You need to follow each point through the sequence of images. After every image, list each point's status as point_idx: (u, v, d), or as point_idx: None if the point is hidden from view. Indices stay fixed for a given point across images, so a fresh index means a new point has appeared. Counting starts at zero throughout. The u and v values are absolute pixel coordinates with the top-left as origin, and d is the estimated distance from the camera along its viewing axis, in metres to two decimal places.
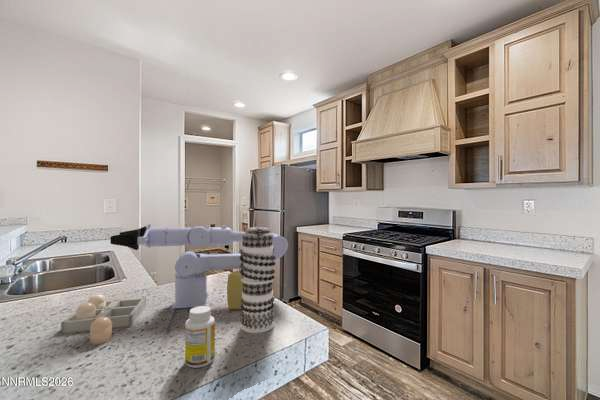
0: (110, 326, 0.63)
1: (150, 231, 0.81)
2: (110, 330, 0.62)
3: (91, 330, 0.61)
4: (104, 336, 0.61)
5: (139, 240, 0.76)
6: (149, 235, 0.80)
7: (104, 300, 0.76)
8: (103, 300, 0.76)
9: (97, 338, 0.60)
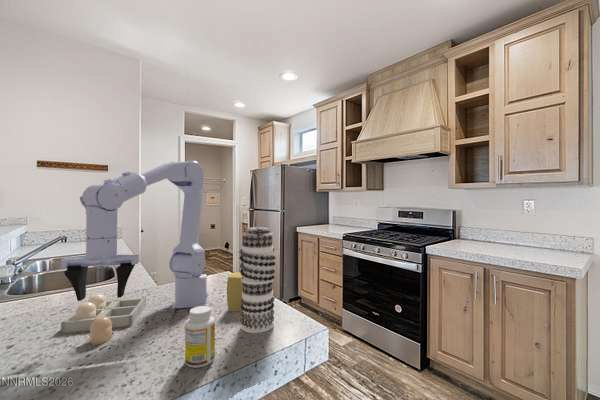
0: (110, 326, 0.63)
1: (109, 256, 0.61)
2: (110, 330, 0.62)
3: (91, 330, 0.61)
4: (104, 336, 0.61)
5: (137, 261, 0.64)
6: (114, 256, 0.62)
7: (104, 300, 0.76)
8: (103, 300, 0.76)
9: (97, 338, 0.60)
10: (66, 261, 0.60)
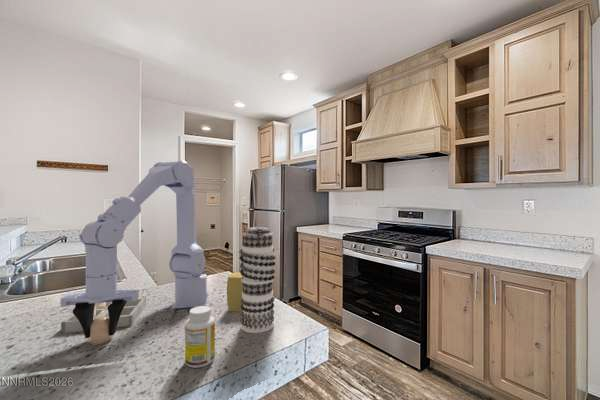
0: None
1: (108, 294, 0.61)
2: None
3: (91, 330, 0.61)
4: (104, 336, 0.61)
5: (137, 297, 0.64)
6: (113, 293, 0.62)
7: None
8: None
9: (97, 338, 0.60)
10: (66, 300, 0.60)
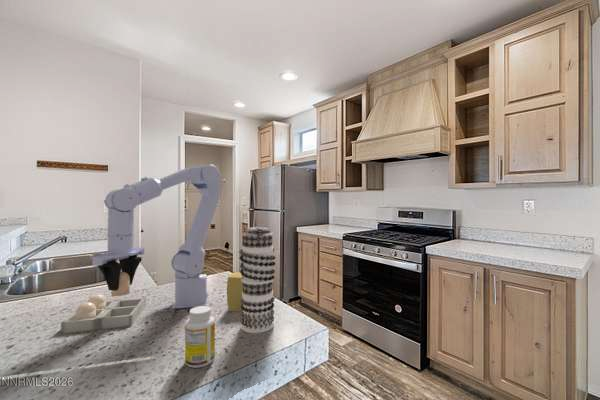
0: None
1: (133, 249, 0.74)
2: None
3: (121, 282, 0.70)
4: (129, 285, 0.73)
5: None
6: None
7: (104, 300, 0.76)
8: (103, 300, 0.76)
9: (127, 287, 0.72)
10: (103, 258, 0.66)
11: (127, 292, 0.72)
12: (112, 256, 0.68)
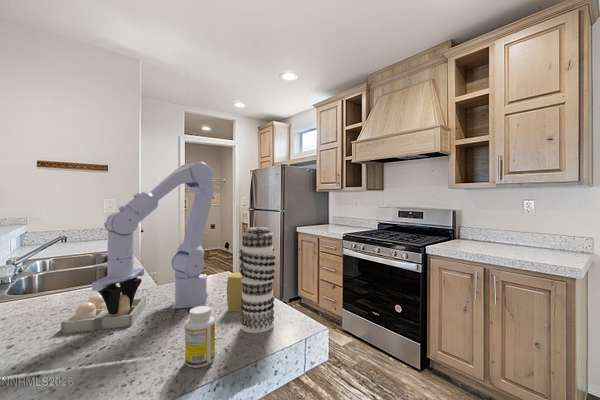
0: None
1: (133, 272, 0.74)
2: None
3: (121, 305, 0.70)
4: (129, 308, 0.73)
5: None
6: None
7: None
8: (103, 300, 0.76)
9: (127, 310, 0.72)
10: (103, 283, 0.66)
11: None
12: (112, 280, 0.68)
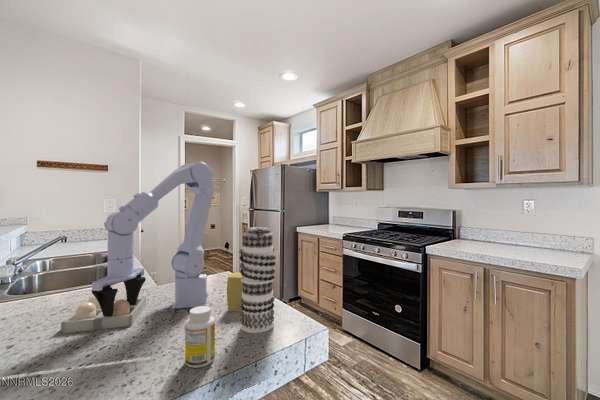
0: None
1: (133, 272, 0.74)
2: None
3: (121, 310, 0.70)
4: (129, 313, 0.73)
5: None
6: None
7: None
8: None
9: None
10: (103, 283, 0.66)
11: None
12: (112, 280, 0.68)
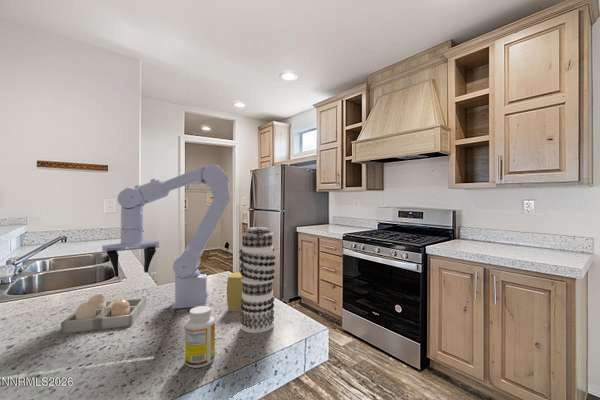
0: None
1: (141, 242, 0.83)
2: None
3: (121, 310, 0.70)
4: (129, 313, 0.73)
5: None
6: (142, 242, 0.84)
7: (104, 300, 0.76)
8: (103, 300, 0.76)
9: None
10: (107, 247, 0.79)
11: None
12: (115, 246, 0.79)
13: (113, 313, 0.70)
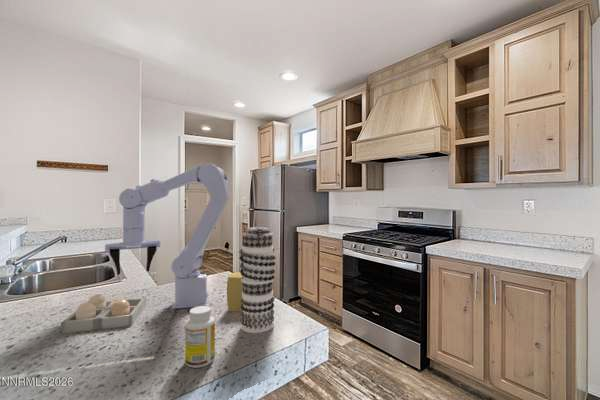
0: None
1: (141, 241, 0.85)
2: None
3: (121, 310, 0.70)
4: (129, 313, 0.73)
5: None
6: (144, 241, 0.86)
7: (104, 300, 0.76)
8: (103, 300, 0.76)
9: None
10: (109, 246, 0.81)
11: None
12: (116, 245, 0.82)
13: (113, 313, 0.70)
